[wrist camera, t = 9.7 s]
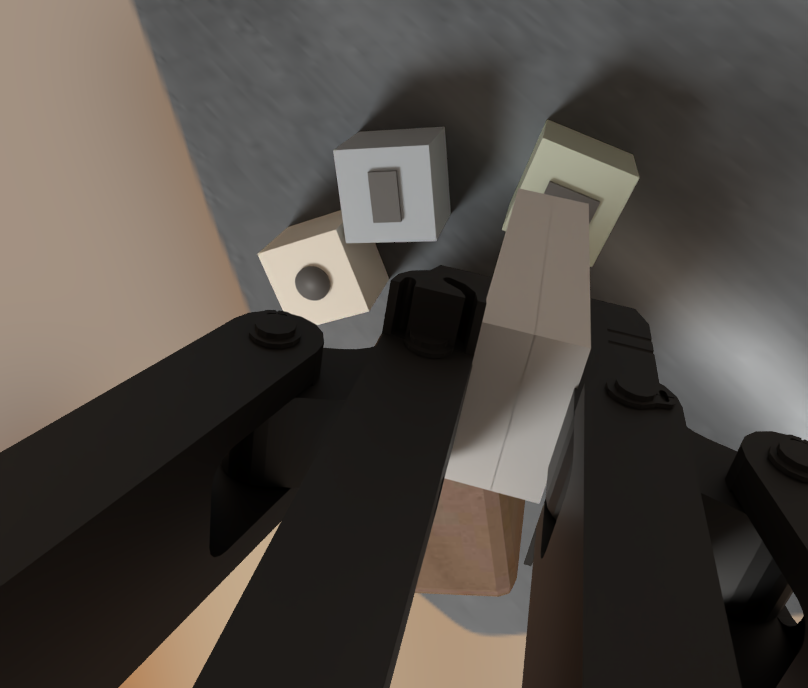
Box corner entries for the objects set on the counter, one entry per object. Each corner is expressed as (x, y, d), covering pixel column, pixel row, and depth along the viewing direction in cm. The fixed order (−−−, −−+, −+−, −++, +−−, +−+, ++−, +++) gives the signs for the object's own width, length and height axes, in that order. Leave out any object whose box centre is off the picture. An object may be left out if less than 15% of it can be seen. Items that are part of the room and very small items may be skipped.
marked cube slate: (358, 131, 50) (331, 151, 45) (444, 126, 49) (427, 146, 43) (369, 216, 53) (344, 244, 47) (451, 213, 52) (435, 242, 46)
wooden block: (412, 414, 60) (343, 597, 42) (392, 301, 55) (306, 453, 38) (536, 411, 57) (516, 605, 40) (525, 293, 53) (498, 452, 36)
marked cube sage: (547, 118, 47) (542, 138, 42) (633, 154, 47) (639, 178, 42) (510, 202, 50) (501, 231, 45) (591, 236, 50) (592, 269, 45)
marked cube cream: (288, 226, 55) (255, 255, 49) (360, 203, 53) (334, 230, 47) (319, 298, 57) (291, 333, 51) (389, 278, 55) (368, 313, 49)
